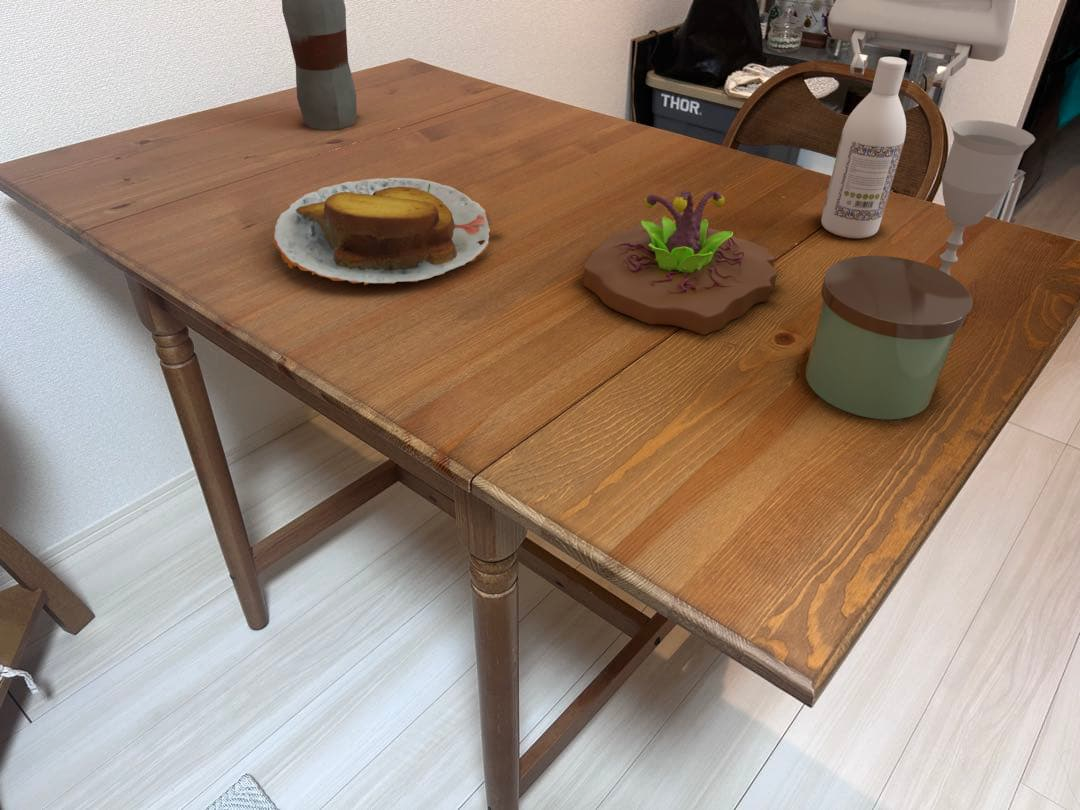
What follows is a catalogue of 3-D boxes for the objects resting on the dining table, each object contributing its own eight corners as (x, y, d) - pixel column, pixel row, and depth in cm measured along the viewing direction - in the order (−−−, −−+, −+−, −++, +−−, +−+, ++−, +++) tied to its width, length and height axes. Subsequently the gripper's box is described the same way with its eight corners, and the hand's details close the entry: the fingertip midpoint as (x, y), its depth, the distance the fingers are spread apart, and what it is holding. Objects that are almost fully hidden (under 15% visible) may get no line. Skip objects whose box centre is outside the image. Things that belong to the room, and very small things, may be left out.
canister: (959, 385, 75) (998, 291, 69) (893, 441, 69) (929, 342, 63) (845, 332, 82) (870, 242, 76) (775, 378, 76) (797, 284, 70)
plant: (553, 292, 88) (555, 194, 81) (639, 227, 101) (648, 138, 94) (723, 351, 79) (742, 247, 72) (794, 272, 92) (816, 177, 85)
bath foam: (888, 237, 100) (940, 67, 87) (837, 242, 98) (882, 70, 86) (859, 214, 105) (903, 50, 93) (810, 218, 104) (848, 52, 91)
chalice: (980, 298, 88) (1045, 133, 77) (956, 322, 84) (1021, 151, 73) (914, 275, 92) (967, 115, 81) (888, 297, 88) (940, 132, 77)
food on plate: (468, 191, 109) (466, 142, 105) (516, 279, 91) (516, 224, 86) (272, 211, 103) (262, 161, 99) (281, 310, 85) (269, 253, 81)
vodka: (300, 113, 133) (265, -101, 115) (357, 110, 135) (331, -102, 117) (301, 133, 126) (263, -92, 108) (361, 129, 128) (334, -93, 110)
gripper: (849, -55, 98) (807, 49, 97) (1036, -37, 89) (993, 77, 89) (849, -20, 103) (810, 78, 103) (1026, 0, 95) (984, 107, 94)
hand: (896, 78), depth 96 cm, fingers open, 8 cm apart
